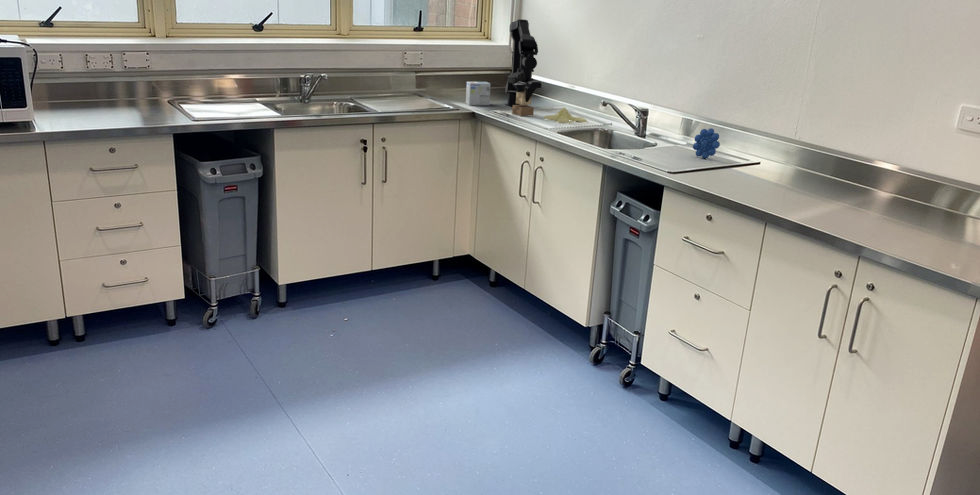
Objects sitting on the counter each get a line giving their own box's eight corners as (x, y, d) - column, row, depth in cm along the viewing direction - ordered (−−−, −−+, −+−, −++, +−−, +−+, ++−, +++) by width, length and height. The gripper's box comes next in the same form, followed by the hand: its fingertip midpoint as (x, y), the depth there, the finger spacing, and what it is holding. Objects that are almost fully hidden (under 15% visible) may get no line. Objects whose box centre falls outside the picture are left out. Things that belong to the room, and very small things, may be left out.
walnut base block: (512, 113, 383) (512, 105, 381) (524, 113, 386) (524, 104, 385) (520, 116, 377) (521, 107, 376) (533, 115, 381) (533, 107, 380)
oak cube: (515, 103, 381) (516, 92, 379) (524, 102, 383) (525, 91, 382) (521, 104, 377) (522, 93, 375) (530, 104, 379) (531, 93, 378)
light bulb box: (485, 103, 407) (486, 81, 403) (489, 105, 401) (491, 83, 397) (465, 103, 403) (466, 80, 400) (468, 105, 397) (470, 83, 394)
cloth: (594, 123, 376) (595, 109, 374) (568, 126, 363) (569, 112, 361) (557, 115, 390) (558, 102, 388) (531, 118, 378) (532, 104, 376)
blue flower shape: (723, 161, 312) (728, 129, 308) (712, 162, 308) (717, 131, 304) (698, 154, 320) (703, 124, 316) (687, 156, 316) (692, 125, 312)
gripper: (500, 64, 378) (497, 98, 383) (523, 69, 363) (520, 105, 368) (519, 64, 383) (517, 97, 389) (543, 69, 369) (540, 104, 374)
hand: (523, 101), depth 380 cm, fingers closed on oak cube, 5 cm apart
